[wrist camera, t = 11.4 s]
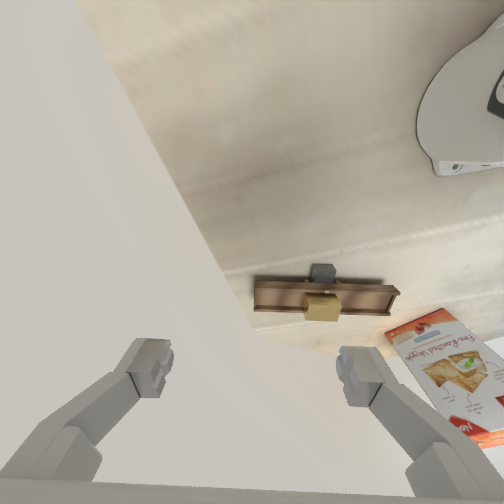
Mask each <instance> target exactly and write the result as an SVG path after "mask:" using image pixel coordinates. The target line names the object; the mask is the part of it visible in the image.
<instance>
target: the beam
mask: <svg viewBox="0 0 504 504" xmlns="http://www.w3.org/2000/svg"><path fill="white" fill-rule="evenodd" d="M304 292H314V293H335V294H336V295H337V297H338V299H339V301H340V303H341V305H342V308H341V311H340V314H346V315H374V316H390V315H391V313H390V312H389V311H390V309H391V306H392V304H393V302H394V300H395V298H396V296H397V295H400V292H399V291H398V290H397V289H396V288H395V287H394V286H393V285H369V284H341V282H340V281H335V283H310V282H309V280H305V281H304V282H278V281H255V287H254V311H260V312H289V313H304V312H303V309H302V301H303V296H304Z"/></svg>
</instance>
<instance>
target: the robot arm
mask: <svg viewBox="0 0 504 504" xmlns="http://www.w3.org/2000/svg"><path fill="white" fill-rule="evenodd" d="M417 135H418V139H419V142H420V145H421V147H422V148H423V150H424V151H425V152H426V153H427V154H428V155H429V156H430V158H431V159H432V162H433V167H434V171H435V173H436V175H438V176H450V175H456V174H462V173H468V172H474V171H480V170H486V169H492V168H498V167H504V13H503V14H501V15H500V16H499V17H498V18H497V19H496V20H495V22H494V23H493V24H492V25H491V26H490V27H489V28H488V29H487V31H486V32H485V33H484V34H483V35H482V36H481V37H479V38H478V39H477V40H475V41H474V42H472V43H471V44H469V45H468V46H466V47H465V48H463V49H462V50H460V51H459V52H458V53H457V54H455V55H454V56H453V57H452V58H451V59H450V60H449V61H448V62H447V63H446V64H445V65H444V66H443V67H442V68H441V70H440V71H439V72H438V73H437V75H436V76H435V78H434V79H433V81H432V82H431V84H430V85H429V87H428V89H427V91H426V93H425V95H424V97H423V100H422V102H421V105H420V109H419V113H418V118H417ZM453 166H454V168H453ZM452 168H453V169H452ZM170 346H171V342H170V340H166V339H150V338H136V339H135V340H134V341H133V342H132V344H131V345H130V347H129V348H128V350H127V351H126V353H125V354H124V356H123V357H122V359H121V360H120V362H119V363H118V365H117V367H116V368H115V369H114V371H113V372H109V373H108V374H106V375H105V376H103V377H102V378H101V379H99V380H98V381H96V382H95V383H94V384H92V385H91V386H90V387H88V388H87V389H86V390H84V391H83V392H81V393H80V394H79V395H77V396H76V397H74V398H73V399H72V400H70V401H69V402H68V403H66V404H65V405H64V406H62V407H61V408H59V409H58V410H57V411H55V412H54V413H52V414H51V415H50V416H48V417H47V418H46V419H44V420H43V421H41V422H40V423H39V424H38V425H37V426H36V428H35V429H34V430H33V431H32V433H31V434H30V435H29V436H28V437H27V439H26V440H25V441H24V443H23V444H22V445H21V446H20V447H19V449H18V450H17V451H16V452H15V453H14V455H13V456H12V457H11V458H10V460H9V461H8V462H7V463H6V465H5V466H4V467H3V468H2V470H1V471H0V504H504V480H503V478H502V477H501V476H500V474H499V473H498V472H497V470H496V469H495V468H494V466H493V465H492V464H491V462H490V461H489V460H488V458H487V457H486V456H485V455H484V453H483V452H482V450H481V449H480V448H479V446H478V445H477V444H476V443H475V442H474V441H473V440H472V439H470V438H469V437H468V436H467V435H466V434H464V433H463V432H462V431H461V430H459V429H458V428H457V427H456V426H454V425H453V424H452V423H451V422H449V421H448V420H447V419H446V418H444V417H443V416H442V415H441V414H439V413H438V412H437V411H436V410H434V409H433V408H432V407H431V406H429V405H428V404H427V403H426V402H425V401H423V400H422V399H421V398H420V397H418V396H417V395H416V394H415V393H413V392H412V391H411V390H410V389H409V388H407V387H406V386H405V385H404V384H399V382H398V381H397V379H396V377H395V376H394V374H393V373H392V371H391V369H390V368H389V366H388V364H387V363H386V361H385V360H384V358H383V356H382V355H381V353H380V352H379V350H378V349H377V348H376V347H363V346H342V347H341V348H340V350H339V351H340V354H341V355H339V356H338V357H337V360H336V370H337V374H338V377H339V379H340V380H341V381H342V382H343V383H344V387H343V391H344V393H345V396H346V399H347V402H348V404H349V406H356V407H369V409H370V411H371V412H372V413H373V414H374V415H375V416H376V418H377V419H378V420H379V421H380V422H381V423H382V425H383V426H384V427H385V428H386V429H387V430H388V432H389V433H390V434H391V435H392V436H393V437H394V438H395V440H396V441H397V442H398V443H399V444H400V446H401V447H402V448H403V449H404V450H405V451H406V453H407V454H408V455H409V456H410V457H411V458H412V460H413V461H414V462H413V463H412V464H411V465H410V466H409V467H408V468H407V469H406V472H405V474H406V476H407V479H408V481H409V483H410V485H411V488H412V490H413V492H414V494H415V496H416V497H401V496H400V497H399V496H380V495H359V494H338V493H336V494H335V493H316V492H296V491H275V490H254V489H232V488H211V487H190V486H168V485H148V484H126V483H105V482H92V480H93V478H94V476H95V474H96V472H97V470H98V468H99V466H100V463H101V462H102V455H101V454H100V452H99V451H98V450H97V449H96V447H95V446H96V445H97V444H98V443H99V442H100V441H101V440H102V438H103V437H104V436H105V435H106V434H107V433H108V432H109V431H110V430H111V429H112V428H113V427H114V426H115V425H116V424H117V423H118V421H120V420H121V419H122V417H123V416H124V415H125V414H126V413H127V412H128V411H129V410H130V409H131V408H132V407H133V406H134V405H135V404H136V403H137V402H138V400H139V399H140V398H159V397H160V395H161V393H162V390H163V387H164V385H165V383H166V381H165V378H164V377H165V376H166V375H167V374H168V373H169V372H170V370H171V367H172V364H173V359H174V354H173V350H171V349H170Z"/></svg>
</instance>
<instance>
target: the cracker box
mask: <svg viewBox="0 0 504 504" xmlns="http://www.w3.org/2000/svg"><path fill="white" fill-rule="evenodd" d="M385 334H386V336H387V338H388V339H389V341H390V342H391V344H392V345H393V347H394V348H395V350H396V351H397V352H398V354H399V355H400V357H401V358H402V360H403V361H404V363H405V364H406V366H407V367H408V369H409V370H410V371H411V373H412V375H413V376H414V377H415V379H416V380H417V382H418V383H419V385H420V386H421V388H422V389H423V391H424V392H425V393H426V395H427V396H428V398H429V399H430V401H431V402H432V404H433V405H434V407H435V408H436V409H437V411H438V412H439V414H441V415H442V416H443V417H444V418H446V419H447V420H448V421H449V422H451V423H452V424H453V425H454V426H456V427H457V428H458V429H459V430H461V431H462V432H463V433H464V434H466V435H467V436H468V437H469V438H470V439H472V440H473V441H474V442H475V443H476V444H477V445H478V446H479V448H480V449H484V448H489V447H494V446H499V445H504V359H502V358H501V357H500V356H499V355H498V354H497V353H496V352H494V351H493V350H492V349H491V348H490V347H489V346H487V345H486V344H485V343H484V342H483V341H482V340H480V339H479V338H478V337H477V336H476V335H475V334H473V333H472V332H471V331H470V330H469V329H468V328H466V327H465V326H464V325H463V324H462V323H461V322H459V321H458V320H457V319H456V318H455V317H453V316H452V315H451V314H450V313H449V312H447V311H446V310H445V309H441V310H439V311H436V312H434V313H432V314H429V315H427V316H425V317H422V318H420V319H417V320H415V321H413V322H410V323H408V324H406V325H403V326H401V327H399V328H396V329H394V330H391V331H389V332H387V333H385Z"/></svg>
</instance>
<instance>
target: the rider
mask: <svg viewBox="0 0 504 504" xmlns="http://www.w3.org/2000/svg"><path fill="white" fill-rule="evenodd" d="M341 308H342V305H341V303H340V301H339V299H338V297H337V295H336V294H335V293H314V292H304V296H303V301H302V309H303V312H304V316H305V319H306V320H311V321H335V322H337V320H338V317H339V314H340V311H341Z"/></svg>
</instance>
